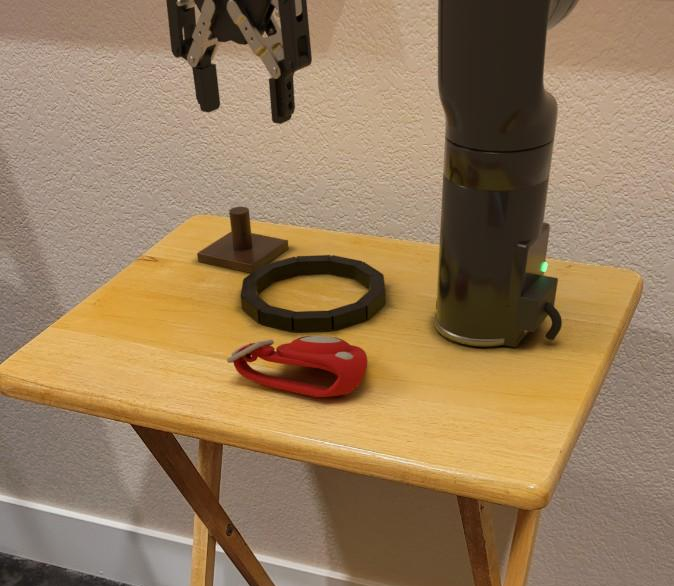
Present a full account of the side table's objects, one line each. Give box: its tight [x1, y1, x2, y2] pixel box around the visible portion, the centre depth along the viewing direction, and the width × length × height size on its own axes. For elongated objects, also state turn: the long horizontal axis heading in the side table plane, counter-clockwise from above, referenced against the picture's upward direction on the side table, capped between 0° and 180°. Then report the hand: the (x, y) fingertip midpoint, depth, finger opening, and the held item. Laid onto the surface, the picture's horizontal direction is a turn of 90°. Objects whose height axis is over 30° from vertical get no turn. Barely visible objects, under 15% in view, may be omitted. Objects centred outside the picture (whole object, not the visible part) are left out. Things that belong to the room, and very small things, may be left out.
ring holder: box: [196, 206, 289, 274], centre depth 99 cm, size 8×8×5 cm
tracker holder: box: [226, 335, 368, 398], centre depth 79 cm, size 12×4×10 cm
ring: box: [240, 254, 386, 333], centre depth 92 cm, size 15×15×2 cm
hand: (245, 115), depth 83 cm, fingers open, 8 cm apart
